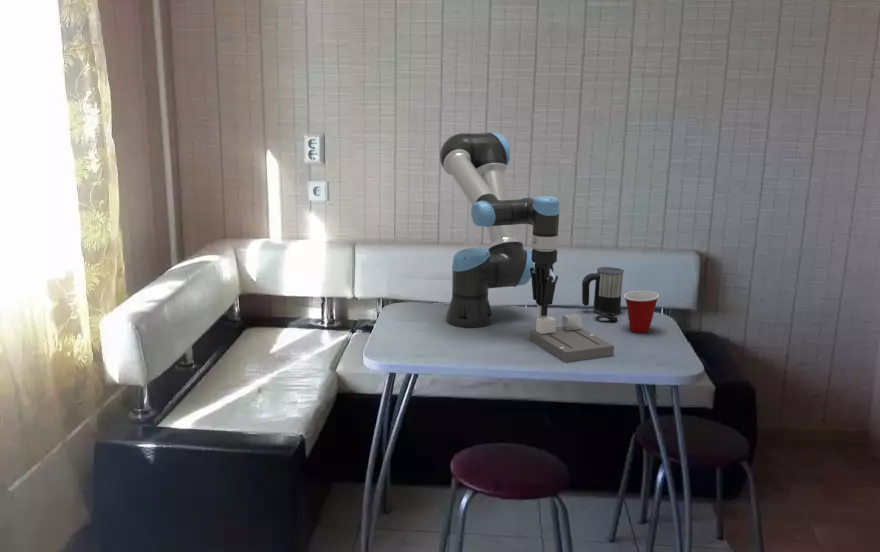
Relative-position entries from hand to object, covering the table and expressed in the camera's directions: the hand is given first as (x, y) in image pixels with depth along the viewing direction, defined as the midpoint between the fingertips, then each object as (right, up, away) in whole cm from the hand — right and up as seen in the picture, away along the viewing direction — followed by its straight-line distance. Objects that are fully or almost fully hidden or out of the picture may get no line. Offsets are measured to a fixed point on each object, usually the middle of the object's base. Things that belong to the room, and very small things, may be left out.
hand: (541, 325), depth 249 cm
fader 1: (+1, -2, -2) cm, 3 cm away
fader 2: (+9, -1, +1) cm, 9 cm away
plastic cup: (+32, -3, +11) cm, 34 cm away
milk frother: (+25, +1, +27) cm, 37 cm away
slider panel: (+8, -6, -6) cm, 12 cm away
